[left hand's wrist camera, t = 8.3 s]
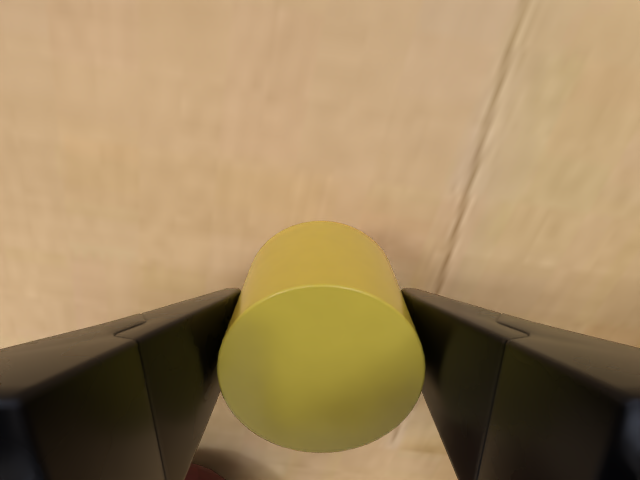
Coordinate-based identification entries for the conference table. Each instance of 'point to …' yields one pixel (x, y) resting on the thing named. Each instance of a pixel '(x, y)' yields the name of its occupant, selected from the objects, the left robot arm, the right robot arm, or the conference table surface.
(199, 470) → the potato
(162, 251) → the conference table surface
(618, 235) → the conference table surface
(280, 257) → the canister
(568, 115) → the conference table surface
